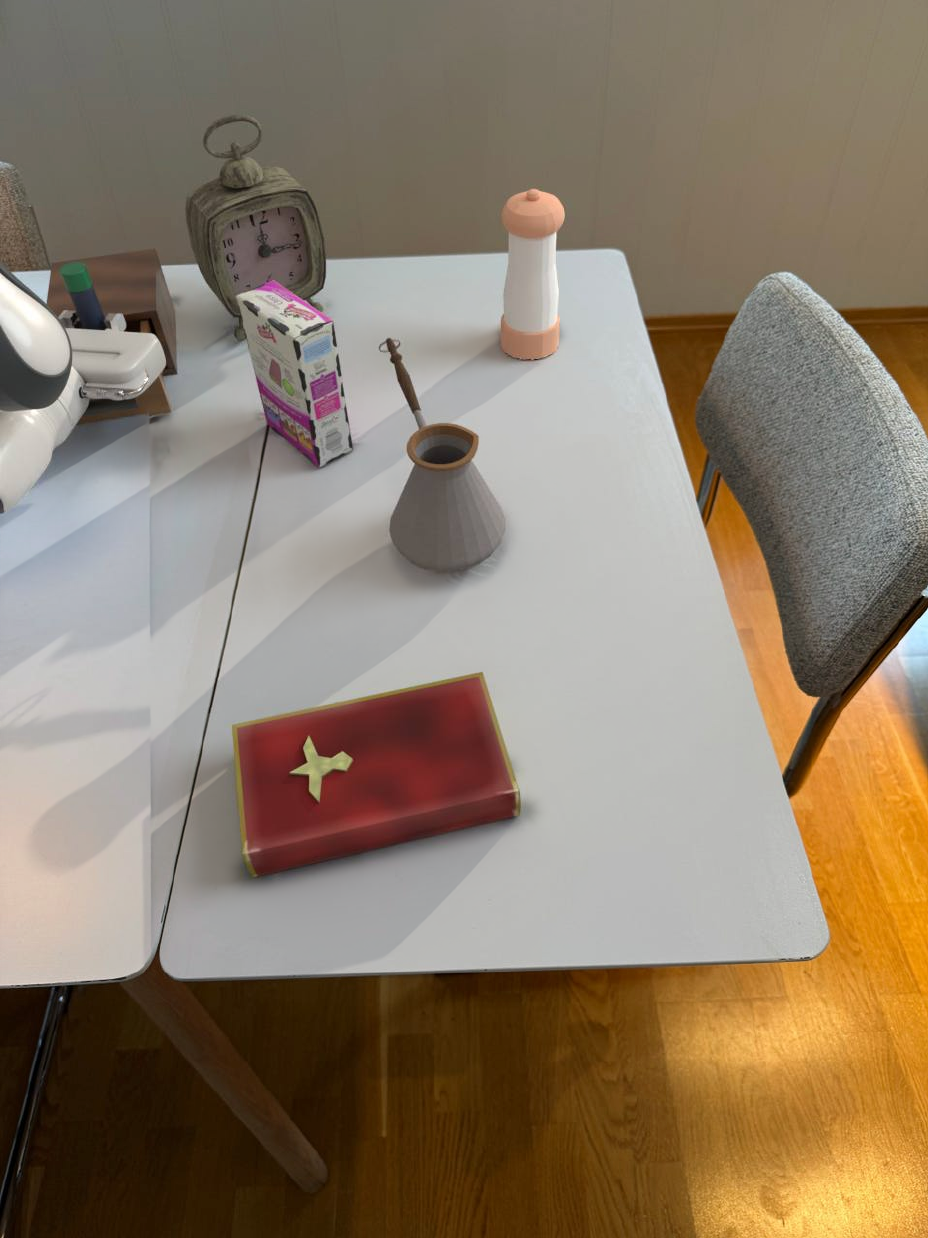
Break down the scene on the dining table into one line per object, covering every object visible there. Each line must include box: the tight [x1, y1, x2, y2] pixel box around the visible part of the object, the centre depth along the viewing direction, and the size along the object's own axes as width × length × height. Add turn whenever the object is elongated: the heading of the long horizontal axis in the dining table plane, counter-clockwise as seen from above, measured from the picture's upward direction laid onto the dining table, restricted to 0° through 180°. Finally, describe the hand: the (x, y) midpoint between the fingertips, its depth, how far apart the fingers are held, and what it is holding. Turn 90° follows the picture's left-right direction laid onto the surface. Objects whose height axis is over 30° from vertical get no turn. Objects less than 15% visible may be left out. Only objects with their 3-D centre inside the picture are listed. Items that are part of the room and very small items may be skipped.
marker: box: [60, 262, 107, 330], centre depth 100 cm, size 3×3×15 cm
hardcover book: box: [231, 671, 522, 878], centre depth 72 cm, size 12×21×4 cm, turn 103°
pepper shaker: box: [500, 188, 566, 361], centre depth 105 cm, size 7×7×19 cm
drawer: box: [75, 318, 172, 426], centre depth 104 cm, size 19×12×7 cm, turn 13°
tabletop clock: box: [185, 113, 327, 342], centre depth 109 cm, size 14×9×25 cm, turn 120°
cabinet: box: [45, 248, 178, 377], centre depth 112 cm, size 15×13×9 cm
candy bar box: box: [236, 280, 354, 469], centre depth 96 cm, size 11×5×16 cm, turn 41°
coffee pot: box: [378, 337, 506, 574], centre depth 88 cm, size 21×12×15 cm, turn 21°
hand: (96, 317), depth 100 cm, fingers open, 4 cm apart
